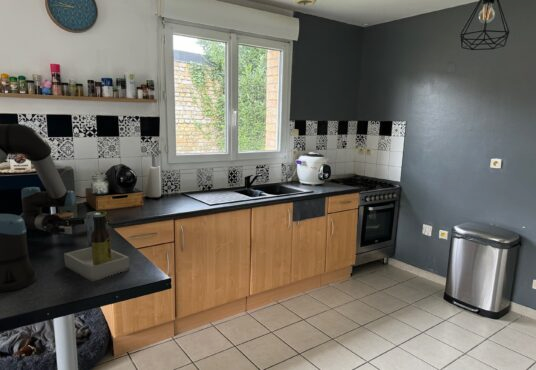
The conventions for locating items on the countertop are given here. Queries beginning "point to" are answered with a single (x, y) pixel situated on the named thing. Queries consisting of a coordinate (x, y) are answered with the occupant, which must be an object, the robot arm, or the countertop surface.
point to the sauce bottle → (100, 241)
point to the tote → (84, 265)
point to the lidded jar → (64, 215)
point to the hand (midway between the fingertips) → (84, 226)
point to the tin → (90, 226)
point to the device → (68, 188)
